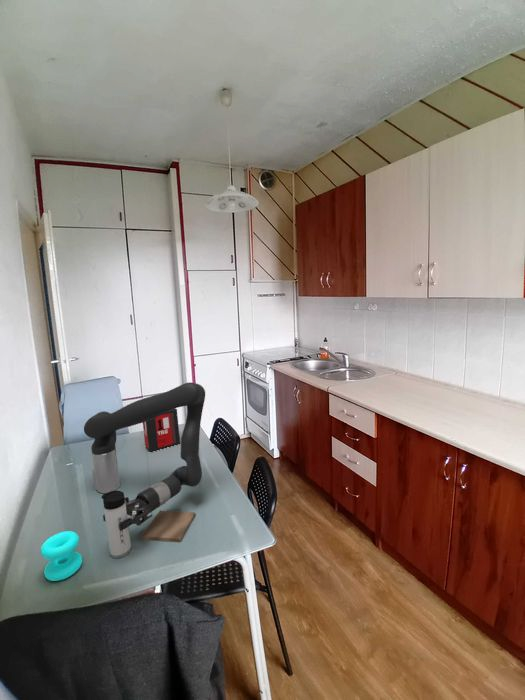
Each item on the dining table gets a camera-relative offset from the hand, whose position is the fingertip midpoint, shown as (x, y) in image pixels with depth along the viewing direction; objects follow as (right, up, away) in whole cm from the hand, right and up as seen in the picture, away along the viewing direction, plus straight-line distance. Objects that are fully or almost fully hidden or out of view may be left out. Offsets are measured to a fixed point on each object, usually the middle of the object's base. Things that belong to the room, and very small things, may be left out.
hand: (111, 523), depth 109 cm
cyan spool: (-13, -13, -3) cm, 18 cm away
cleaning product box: (-7, +2, +82) cm, 82 cm away
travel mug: (+1, -11, +3) cm, 11 cm away
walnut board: (+14, -8, +14) cm, 22 cm away
